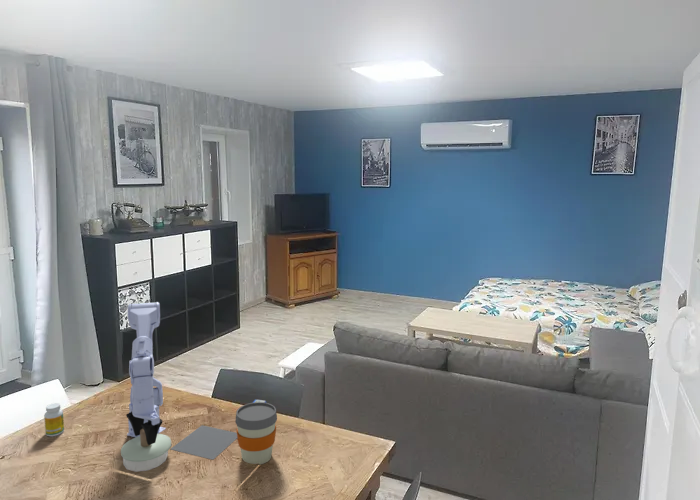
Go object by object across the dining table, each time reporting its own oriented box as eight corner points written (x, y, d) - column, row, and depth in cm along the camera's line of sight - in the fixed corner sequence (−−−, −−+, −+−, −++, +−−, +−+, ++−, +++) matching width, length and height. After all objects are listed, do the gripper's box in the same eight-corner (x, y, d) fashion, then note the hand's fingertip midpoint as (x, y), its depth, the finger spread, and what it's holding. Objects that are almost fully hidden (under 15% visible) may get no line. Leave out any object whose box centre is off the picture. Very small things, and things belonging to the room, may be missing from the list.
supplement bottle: (44, 432, 158) (42, 405, 157) (62, 427, 162) (61, 400, 160) (46, 438, 154) (44, 411, 153) (65, 433, 157) (63, 406, 156)
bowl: (114, 467, 139) (114, 455, 139) (144, 446, 150) (144, 435, 150) (147, 476, 135) (146, 463, 135) (175, 454, 146) (175, 442, 146)
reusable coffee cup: (284, 450, 150) (284, 405, 148) (264, 472, 138) (264, 424, 136) (249, 442, 154) (249, 399, 152) (227, 463, 142) (226, 416, 140)
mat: (170, 450, 148) (170, 449, 148) (201, 426, 163) (201, 425, 163) (213, 461, 143) (213, 459, 143) (241, 435, 158) (241, 433, 158)
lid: (112, 448, 142) (111, 430, 141) (157, 431, 152) (156, 414, 151) (134, 467, 133) (133, 448, 132) (180, 447, 143) (179, 429, 142)
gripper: (168, 398, 138) (170, 442, 140) (144, 385, 148) (145, 425, 149) (145, 407, 133) (147, 452, 135) (121, 392, 142) (123, 434, 144)
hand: (145, 439), depth 142 cm, fingers open, 7 cm apart
